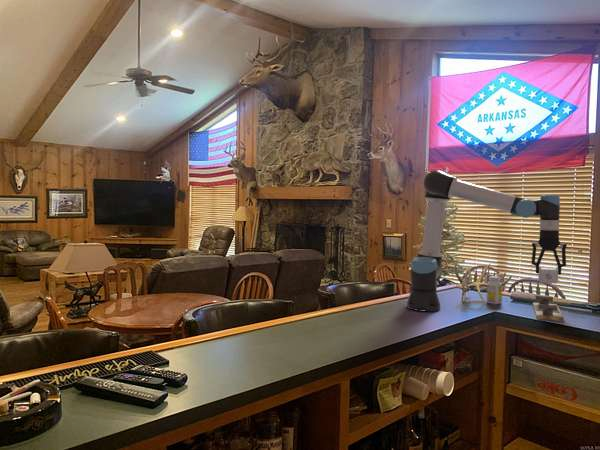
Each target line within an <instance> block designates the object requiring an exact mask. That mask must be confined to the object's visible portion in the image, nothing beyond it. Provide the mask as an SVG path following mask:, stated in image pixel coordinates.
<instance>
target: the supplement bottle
mask: <svg viewBox="0 0 600 450" xmlns="http://www.w3.org/2000/svg"><path fill="white" fill-rule="evenodd" d="M488 278H489V281H488V282H487V283H486V302H487V303H488V304H491V305H500V304H501V303H502V302H503V300H502V297H503V284H502V282H501V281H500V280H501V279H500V276H496V275H491V276H489V277H488Z"/></svg>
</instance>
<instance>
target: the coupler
mask: <svg viewBox="0 0 600 450" xmlns="http://www.w3.org/2000/svg"><path fill="white" fill-rule="evenodd" d="M556 281H557V270H556V267H542V266H541V281H539V282H540V283H541V284H554V285H555V284H557V282H556Z"/></svg>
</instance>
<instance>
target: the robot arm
mask: <svg viewBox="0 0 600 450" xmlns="http://www.w3.org/2000/svg"><path fill="white" fill-rule="evenodd" d="M423 187H424V189H425V193H424V198H425V201H427V204H426V205H427V206H426V211H425V212H426V213H425V219H424V220H425V221H424V230H423V237H422V245H421V246H422V247H421V250H420V251H419V252H417V257H415V258H413V259H412V260H411V263H410V293H409V295H408V298H407V302H406V308H407V307H409V308H412V309H417V310H425V311H434V312H437V311H436V310H438V311H440V310H441V302H440V300H439V299H440V298H439V296H438V293H437V292H438V291H437V288H438V287H437V279H438V278H439V277H440V276H441V275H442V273H443V265H442V263H443V253H441V245H442V238H443V237H442V236H443V227H444V222H445V221H444V220H445V214H446V213H445V212H446V204H447V203H448V202H449V201H450V198H451V197H454V198H457V199H462V200H465V201H468V202H471V203H473V204H474V203H476V204H479V205H482V206H485V207H489V208H491V209H496V210H499V211H503V212H505V213H509V214H510V216H512V217H522V218H525V219H527V218H530V217H539V239H538V241H537V242H535V241H534V242H532V243H531V246H532V255H531V265H533V266H535V274H537V275H538V278H537V279H538V282H540V281H541V267H542V266H541V262H542V260H543V257H544V254H545V253H546V252H547V251H552V253H553V257H554V259H555V262H556V265H557V266H555V268H556V270H557V281H556V283H559V276H561V275H562V268H563V267H566V266H567V259H566V258H567V256H566V254H567V253H566V250H567V249H566V248H567V247H568V246H567V243H562V242H561V241H560V239H559V238H560V231H559V230H560V215H561V214H560V212H561V210H560V209H561V203H560V201H561V199H560V196H559V195H558V194H541V195H540V197H539V198H537V199H536V198H535V199H534V198H533V199H531V198H530V199H529V198H523V197H520V196H516V195H512V194H510V193H509V194H508V193H505V192H502V191H500V190H499V191H498V190H496V189H491V188H488V187H484V186H481V185H477V184H473V183H470V182H467V181H464V180H463V181H462V180H459V179H457V176H453V175H450V174H449V173H447V172H446V171H442V170H439V169H438V170H437V169H436V170H432V171H430V172H428V173H427V174H426V175H425V177H424V179H423ZM538 247H540V248H541V250H540V252H539V254H538V255H539V256H538V258H537V260H536V255H537V248H538ZM558 247H560V248H561V261H560V258H559V254H558V251H557V248H558Z"/></svg>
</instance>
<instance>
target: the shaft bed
mask: <svg viewBox="0 0 600 450" xmlns="http://www.w3.org/2000/svg"><path fill="white" fill-rule="evenodd" d="M535 301H537V302H532V308H533V310H534V315H535V318H536V320H544V321H545V320H546V321H547V320H548V321H556V322H557V321H558V322H564V320H565V319H564V316H563V314H562V312H561V310H560V308H559V306H558V304H557V303H556V304H555V303H551V302H554V297H553V296H551V295H537V294H536V295H535ZM549 302H550V303H549Z"/></svg>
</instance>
